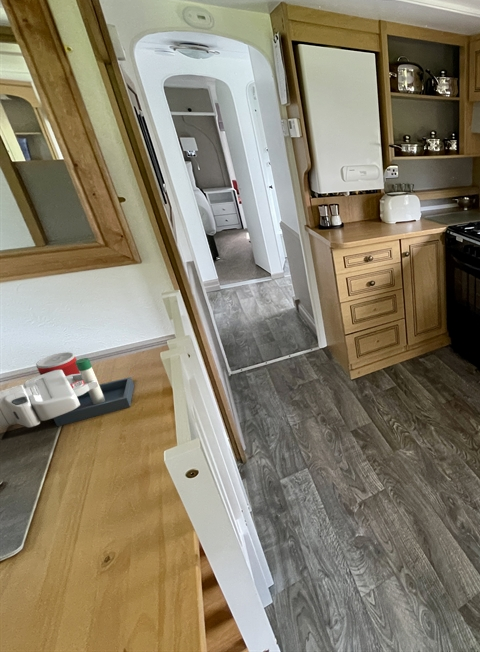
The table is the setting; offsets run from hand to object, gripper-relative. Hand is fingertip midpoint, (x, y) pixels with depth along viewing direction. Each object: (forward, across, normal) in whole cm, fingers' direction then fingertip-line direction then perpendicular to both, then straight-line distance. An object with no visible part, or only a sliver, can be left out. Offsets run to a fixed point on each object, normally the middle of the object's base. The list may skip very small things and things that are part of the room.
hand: (94, 378), depth 104 cm
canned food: (-5, -14, -8) cm, 17 cm away
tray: (-1, 0, -8) cm, 8 cm away
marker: (-1, 0, -7) cm, 7 cm away
